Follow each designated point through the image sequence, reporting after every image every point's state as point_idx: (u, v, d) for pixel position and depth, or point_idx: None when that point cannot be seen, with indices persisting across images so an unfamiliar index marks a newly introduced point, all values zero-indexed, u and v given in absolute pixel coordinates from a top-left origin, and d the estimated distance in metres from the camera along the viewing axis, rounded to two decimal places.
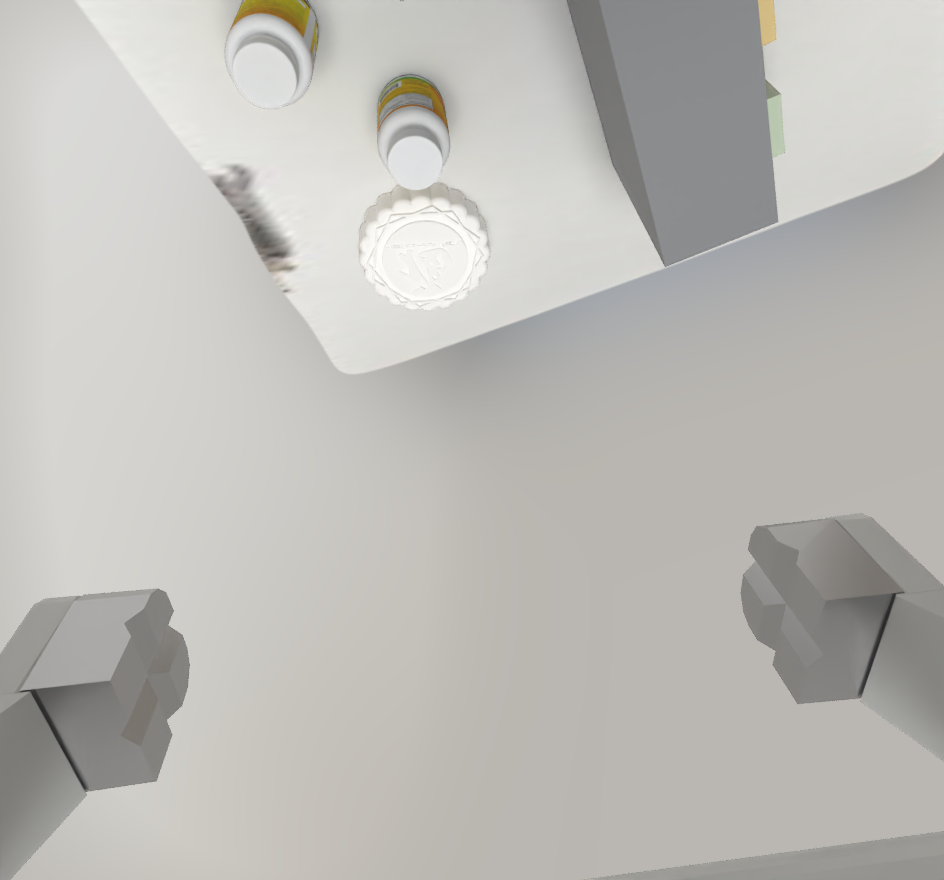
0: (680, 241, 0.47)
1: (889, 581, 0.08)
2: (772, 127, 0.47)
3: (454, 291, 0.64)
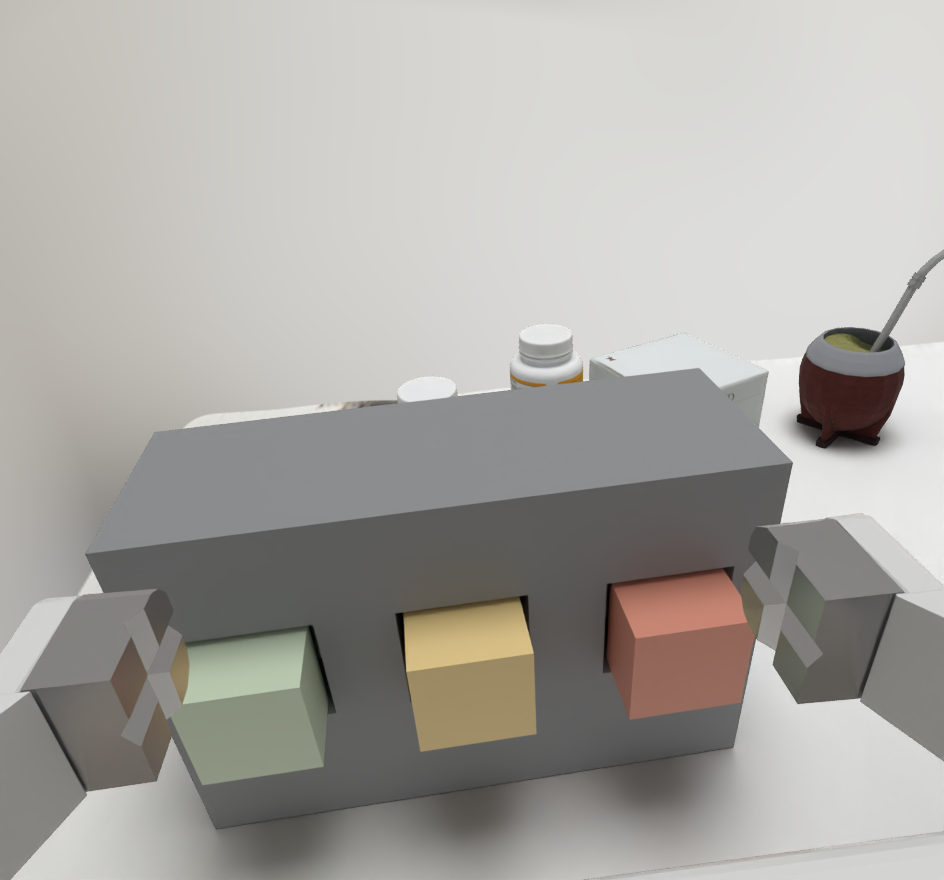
0: (185, 444, 0.28)
1: (889, 581, 0.08)
2: (238, 679, 0.23)
3: None
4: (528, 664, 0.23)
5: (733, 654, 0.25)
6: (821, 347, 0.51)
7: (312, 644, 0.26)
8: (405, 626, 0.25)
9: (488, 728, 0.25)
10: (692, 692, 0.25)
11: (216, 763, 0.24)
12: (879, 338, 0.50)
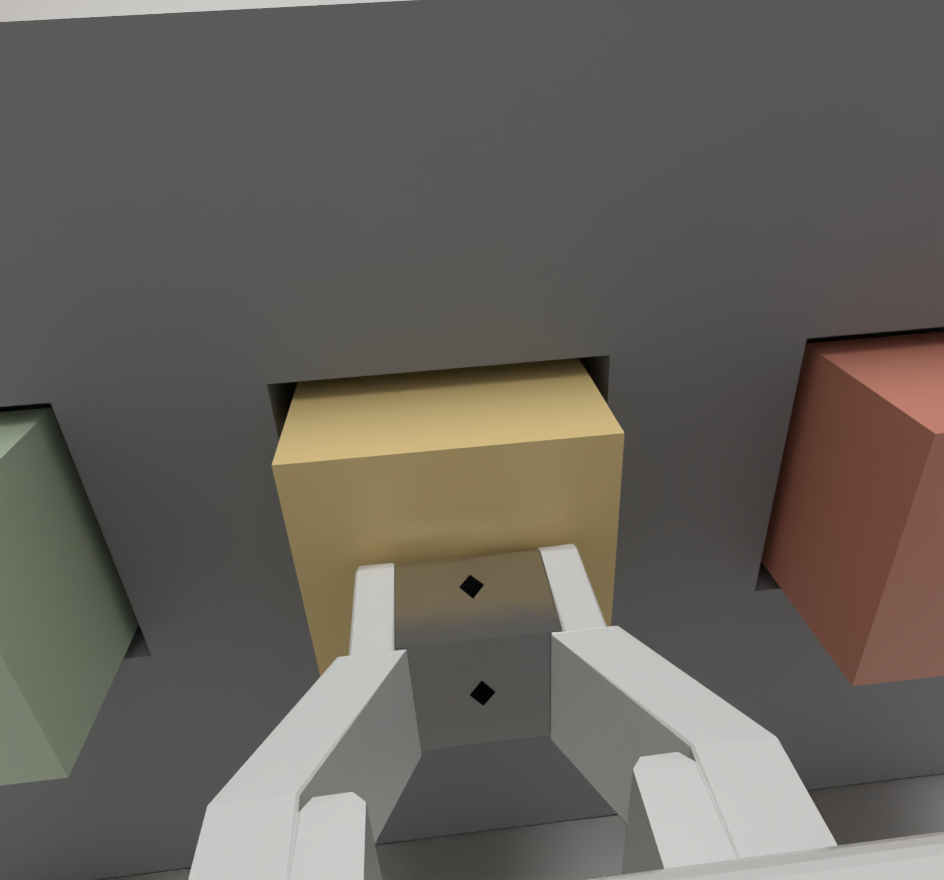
0: None
1: (557, 618, 0.08)
2: None
3: None
4: (606, 469, 0.09)
5: None
6: None
7: (70, 472, 0.10)
8: (296, 393, 0.10)
9: None
10: None
11: None
12: None
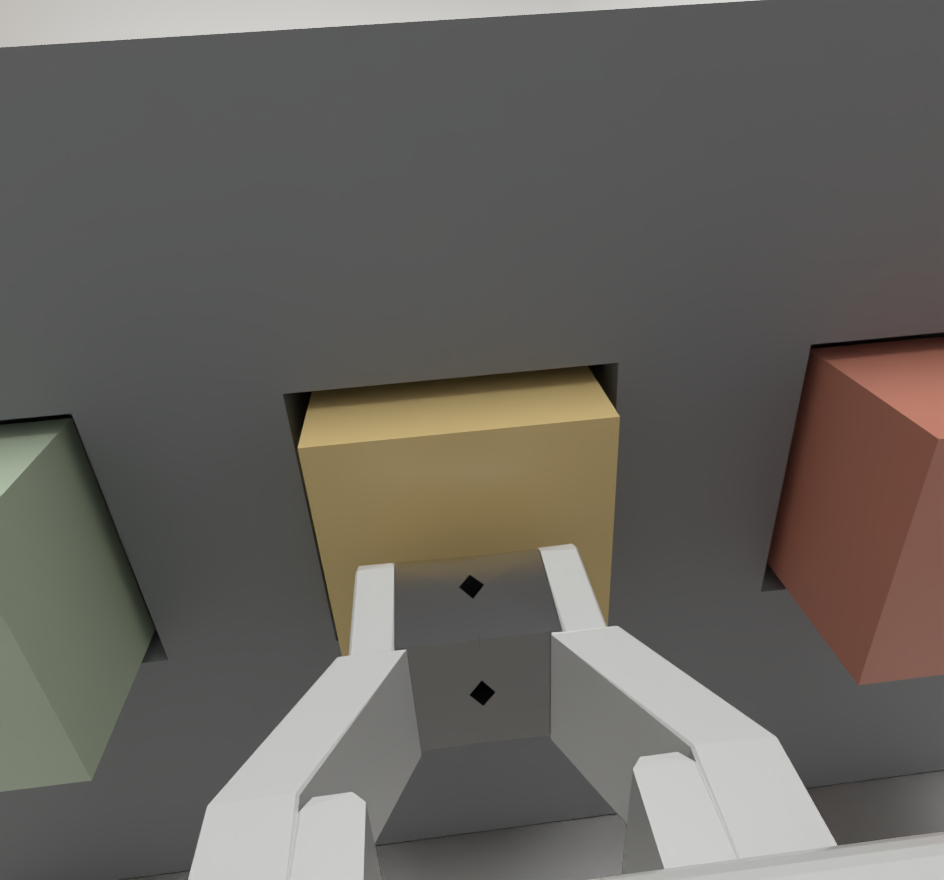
0: None
1: (557, 618, 0.08)
2: None
3: None
4: (603, 450, 0.10)
5: None
6: None
7: (90, 480, 0.11)
8: None
9: None
10: None
11: None
12: None
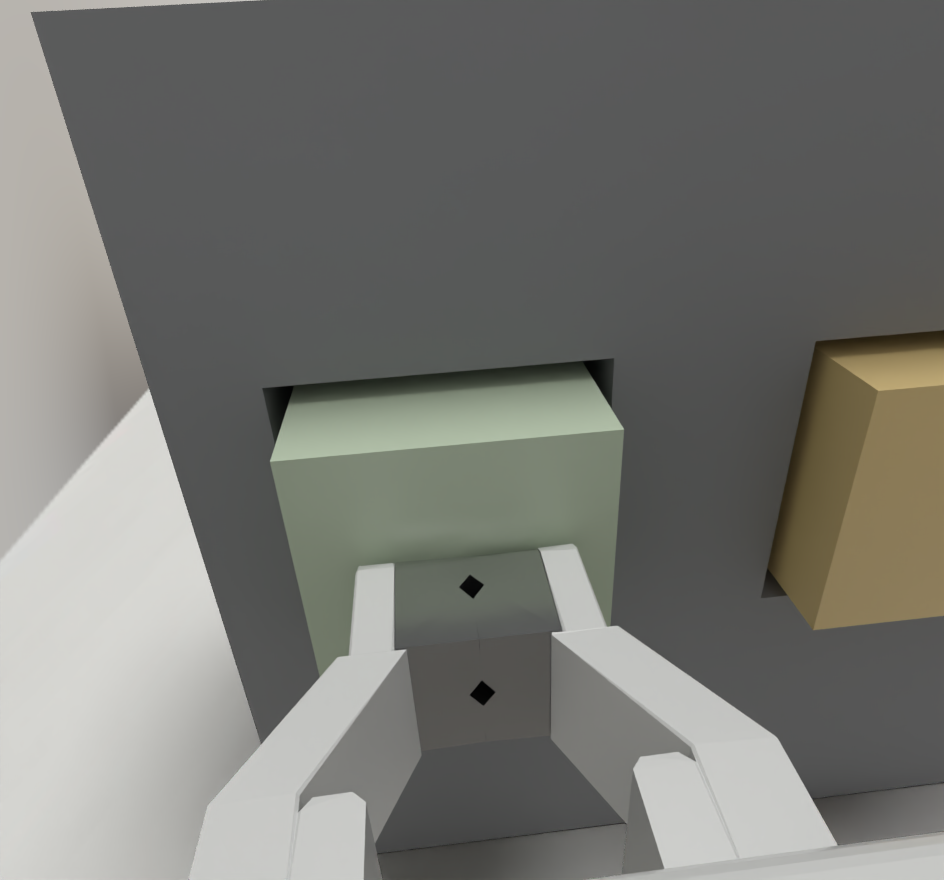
0: None
1: (557, 617, 0.08)
2: (450, 418, 0.09)
3: None
4: None
5: None
6: None
7: None
8: None
9: None
10: None
11: None
12: None
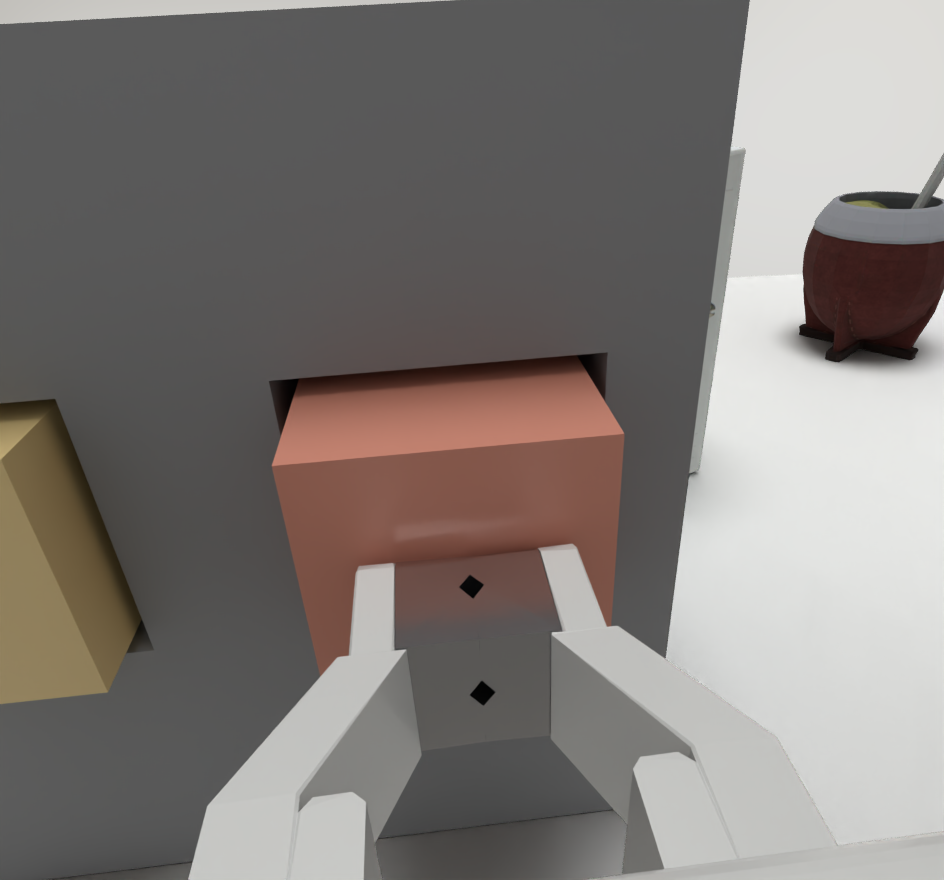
0: None
1: (557, 618, 0.08)
2: None
3: None
4: (1, 494, 0.09)
5: (569, 538, 0.09)
6: (835, 210, 0.35)
7: None
8: None
9: None
10: None
11: None
12: (921, 196, 0.34)
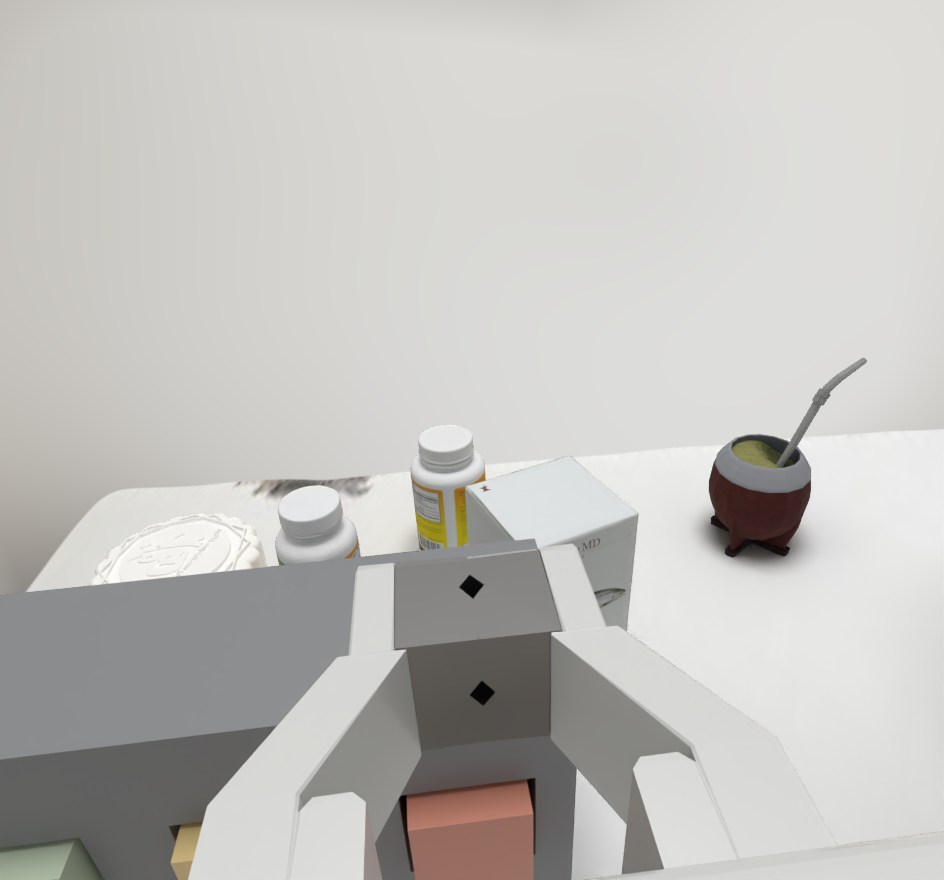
0: None
1: (557, 618, 0.08)
2: (2, 865, 0.23)
3: (110, 575, 0.49)
4: None
5: (515, 842, 0.24)
6: (728, 457, 0.50)
7: None
8: None
9: None
10: (480, 874, 0.25)
11: None
12: (786, 451, 0.49)
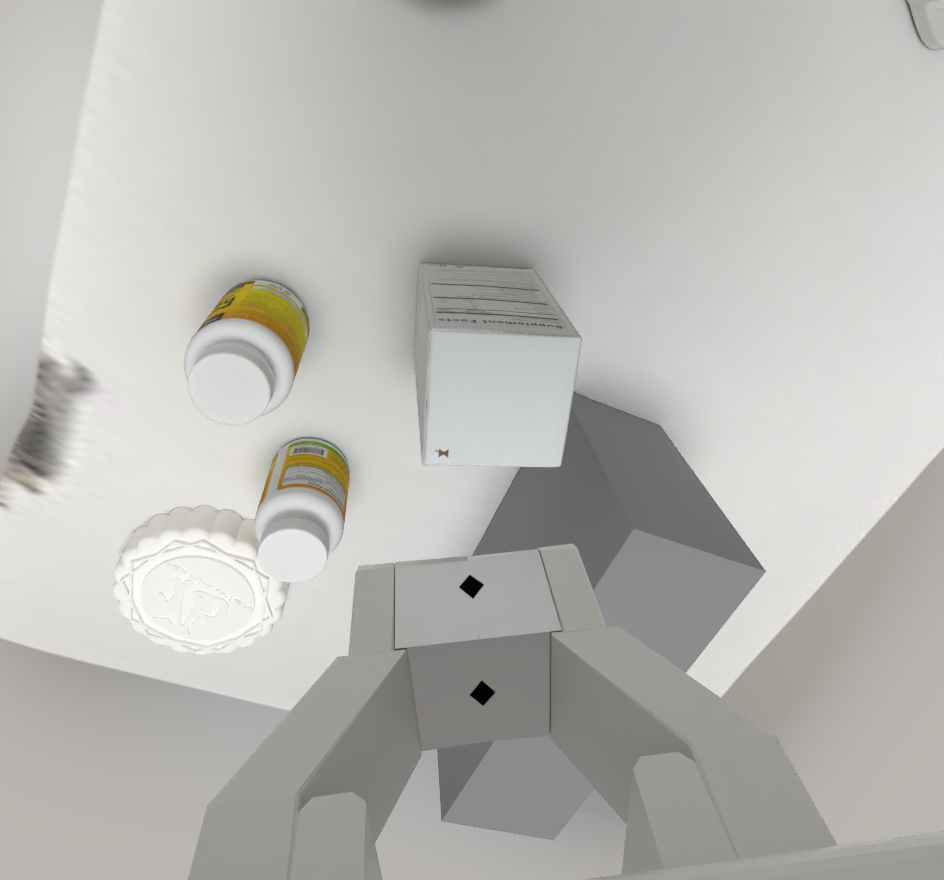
0: (472, 809, 0.42)
1: (557, 618, 0.08)
2: None
3: (201, 643, 0.50)
4: None
5: None
6: None
7: None
8: None
9: None
10: None
11: None
12: None
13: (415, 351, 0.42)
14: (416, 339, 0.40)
